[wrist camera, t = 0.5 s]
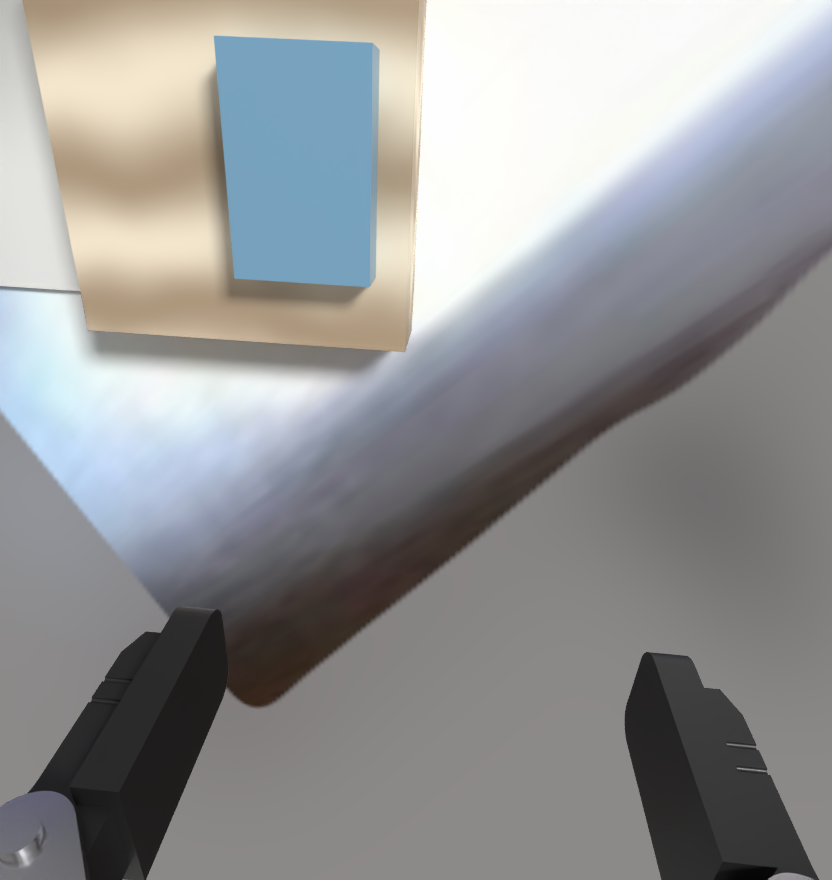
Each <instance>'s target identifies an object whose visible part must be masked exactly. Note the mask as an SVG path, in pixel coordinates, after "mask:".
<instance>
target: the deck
mask: <svg viewBox="0 0 832 880" xmlns="http://www.w3.org/2000/svg"><path fill="white" fill-rule="evenodd" d="M22 2H23V7H24V12H25V17H26V22H27V27H28V32H29V37H30V42H31V47H32V52H33V57H34V62H35V67H36V72H37V77H38V82H39V87H40V92H41V97H42V102H43V107H44V112H45V117H46V122H47V127H48V132H49V137H50V142H51V147H52V152H53V157H54V162H55V167H56V172H57V177H58V182H59V187H60V192H61V197H62V202H63V207H64V212H65V217H66V222H67V227H68V232H69V237H70V242H71V247H72V252H73V257H74V262H75V267H76V272H77V277H78V282H79V287H80V292H81V297H82V302H83V307H84V312H85V317H86V322H87V327H88V330H92V331H107V332H121V333H136V334H150V335H165V336H179V337H194V338H208V339H223V340H237V341H252V342H266V343H281V344H295V345H310V346H324V347H339V348H353V349H368V350H382V351H397V352H405V350H406V347H407V344H408V340H409V337H410V333H411V330H412V312H413V290H414V267H415V245H416V222H417V200H418V177H419V155H420V132H421V110H422V87H423V65H424V42H425V20H426V0H22ZM214 36H234V37H257V38H279V39H301V40H324V41H346V42H368V43H373V44H374V45H375V46H376V47H377V48H378V49H379V50H380V57H379V117H378V177H377V237H376V278H375V280H374V281H373V283H372V284H371V286H370V287H357V286H342V285H326V284H311V283H295V282H279V281H264V280H248V279H235V278H234V266H233V255H232V243H231V231H230V220H229V208H228V197H227V185H226V173H225V162H224V150H223V138H222V127H221V115H220V104H219V92H218V80H217V69H216V57H215V45H214Z"/></svg>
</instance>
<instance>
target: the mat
mask: <svg viewBox="0 0 832 880" xmlns="http://www.w3.org/2000/svg"><path fill="white" fill-rule="evenodd" d="M0 286H9V287H24V288H39V289H55V290H70V291H80V287H79V282H78V277H77V272H76V267H75V262H74V257H73V252H72V247H71V242H70V237H69V232H68V227H67V222H66V217H65V212H64V207H63V202H62V197H61V192H60V187H59V182H58V177H57V172H56V167H55V162H54V157H53V152H52V147H51V142H50V137H49V132H48V127H47V122H46V117H45V112H44V107H43V102H42V97H41V92H40V87H39V82H38V77H37V72H36V67H35V62H34V57H33V52H32V47H31V42H30V37H29V32H28V27H27V22H26V17H25V12H24V7H23V2H22V0H0Z"/></svg>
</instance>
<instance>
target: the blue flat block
mask: <svg viewBox="0 0 832 880" xmlns="http://www.w3.org/2000/svg"><path fill="white" fill-rule="evenodd" d="M214 45H215V57H216V69H217V80H218V92H219V104H220V115H221V127H222V138H223V150H224V162H225V173H226V185H227V197H228V208H229V220H230V231H231V243H232V255H233V266H234V278H235V279H248V280H264V281H279V282H295V283H311V284H326V285H342V286H357V287H370V286H371V284H372V283H373V281H374V280H375V278H376V237H377V177H378V117H379V57H380V50H379V49H378V48H377V47H376V46H375V45H374V44H373V43H368V42H346V41H324V40H301V39H279V38H257V37H234V36H214Z"/></svg>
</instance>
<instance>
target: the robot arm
mask: <svg viewBox="0 0 832 880" xmlns="http://www.w3.org/2000/svg"><path fill="white" fill-rule="evenodd" d="M227 680H228V657H227V650H226V642H225V634H224V627H223V619H222V614H221V612H220V610H218V609H207V608H197V607H187V606H179V607H178V608H176V609H175V611H174V612H173V614H172V615H171V617H170V619H169V620H168V622H167V624H166V625H165V627H164V629H163V630H162V632H161V633H156V632H145V633H144V634H142V635H141V636H140V637H139V638H138V639H136V640H135V641H134V642H133V643H132V644H130V645H129V646H128V647H127V648H125V649H124V650H123V651H122V652H121V653H120V655H119V656H118V658H117V659H116V661H115V662H114V664H113V666H112V667H111V669H110V670H109V672H108V673H107V675H106V676H105V681H104V682H102V683H101V684H100V685H99V687H98V689H97V690H96V692H95V694H94V695H93V696H92V701H91V702H90V703H88V704H87V706H86V707H85V709H84V710H83V712H82V713H81V715H80V716H79V718H78V719H77V721H76V722H75V724H74V726H73V727H72V729H71V730H70V732H69V733H68V735H67V736H66V738H65V739H64V741H63V742H62V744H61V746H60V747H59V749H58V750H57V752H56V753H55V755H54V756H53V758H52V759H51V761H50V762H49V764H48V765H47V767H46V769H45V770H44V772H43V773H42V775H41V776H40V778H39V779H38V781H37V782H36V783H35V785H34V786H33V788H32V789H31V790H30V791H29V792H28V793H27V794H25V795H22V796H19V797H17V798H15V799H13V800H11V801H9V802H7V803H5V804H4V805H2V806H1V807H0V880H122V879H126V880H146V878H147V876H148V874H149V871H150V869H151V866H152V864H153V862H154V859H155V857H156V854H157V852H158V850H159V848H160V845H161V843H162V840H163V838H164V836H165V833H166V831H167V828H168V826H169V824H170V821H171V819H172V816H173V815H174V812H175V810H176V807H177V805H178V802H179V800H180V798H181V796H182V793H183V791H184V788H185V786H186V784H187V781H188V779H189V777H190V774H191V772H192V770H193V767H194V765H195V763H196V760H197V758H198V755H199V753H200V751H201V748H202V746H203V744H204V741H205V739H206V736H207V734H208V732H209V729H210V727H211V725H212V723H213V720H214V718H215V715H216V713H217V710H218V708H219V706H220V704H221V701H222V699H223V696H224V692H225V689H226V685H227ZM625 733H626V741H627V745H628V749H629V753H630V757H631V761H632V765H633V769H634V772H635V777H636V781H637V784H638V788H639V792H640V796H641V800H642V804H643V808H644V812H645V816H646V820H647V824H648V828H649V832H650V836H651V840H652V844H653V848H654V852H655V855H656V859H657V864H658V868H659V872H660V875H661V879H662V880H819V879H818V877H817V875H816V873H815V871H814V869H813V867H812V865H811V863H810V861H809V859H808V857H807V854H806V852H805V850H804V848H803V846H802V844H801V842H800V839H799V837H798V835H797V833H796V830H795V829H794V826H793V824H792V822H791V820H790V817H789V815H788V813H787V811H786V809H785V806H784V804H783V802H782V800H781V798H780V795H779V793H778V791H777V789H776V787H775V785H774V782H773V780H772V778H771V776H770V775H768V774H767V767H766V765H765V763H764V761H763V759H762V756H761V754H760V752H759V751H758V750H757V749H756V743H755V741H754V739H753V737H752V734H751V732H750V730H749V728H748V726H747V724H746V722H745V719H744V717H743V715H742V714H741V713H740V712H739V711H738V709H737V708H736V707H735V706H734V705H733V704H732V703H731V702H730V700H729V699H728V698H727V697H726V696H725V695H724V694H723V693H722V692H721V690H720V689H710V688H704V687H703V685H702V682H701V680H700V678H699V675H698V672H697V670H696V668H695V665H694V663H693V661H692V660H691V659H690V658H689V657H688V656H681V655H671V654H660V653H650V652H646V653H644V654H643V656H642V658H641V662H640V665H639V668H638V671H637V674H636V677H635V680H634V684H633V687H632V690H631V693H630V696H629V699H628V702H627V705H626V710H625Z"/></svg>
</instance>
